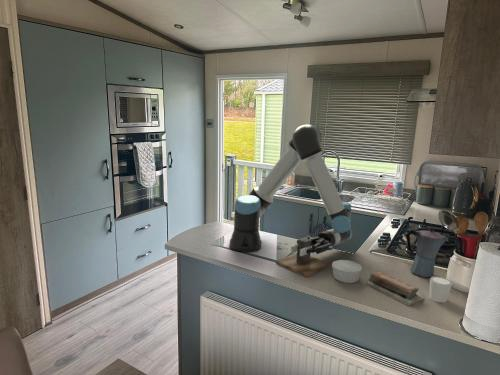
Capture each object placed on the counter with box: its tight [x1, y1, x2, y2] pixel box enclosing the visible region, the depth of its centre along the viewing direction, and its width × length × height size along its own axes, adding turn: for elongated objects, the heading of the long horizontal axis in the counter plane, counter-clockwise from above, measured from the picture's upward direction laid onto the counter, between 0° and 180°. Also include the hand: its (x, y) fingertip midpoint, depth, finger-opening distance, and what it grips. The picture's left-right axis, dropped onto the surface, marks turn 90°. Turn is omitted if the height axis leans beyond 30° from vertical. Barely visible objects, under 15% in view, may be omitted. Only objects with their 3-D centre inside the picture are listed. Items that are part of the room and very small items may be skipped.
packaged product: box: [365, 270, 425, 306], centre depth 127 cm, size 18×5×10 cm
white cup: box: [428, 276, 453, 303], centre depth 122 cm, size 7×7×7 cm
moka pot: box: [405, 227, 449, 279], centre depth 141 cm, size 10×15×20 cm, turn 78°
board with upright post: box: [275, 237, 331, 278], centre depth 144 cm, size 16×16×11 cm
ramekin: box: [331, 259, 363, 284], centre depth 135 cm, size 11×11×5 cm
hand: (296, 251), depth 140 cm, fingers closed on board with upright post, 4 cm apart
